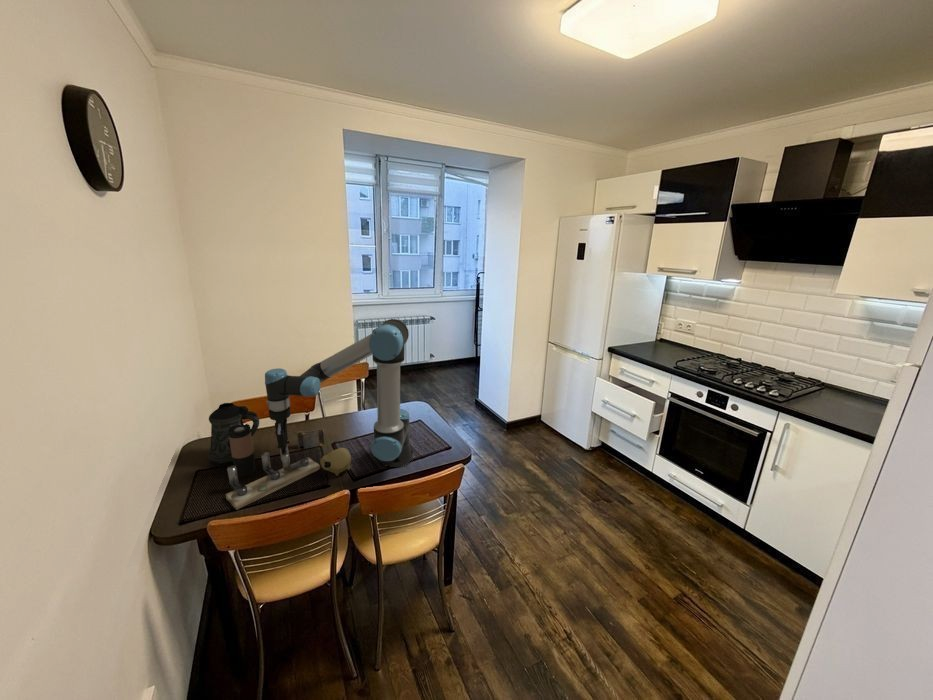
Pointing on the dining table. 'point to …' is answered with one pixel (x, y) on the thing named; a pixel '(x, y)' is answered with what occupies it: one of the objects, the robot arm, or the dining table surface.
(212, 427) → the beer stein
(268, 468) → the grey metal hook
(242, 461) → the travel mug
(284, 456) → the grey coat hook
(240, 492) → the grey metal coat hook
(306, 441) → the grey brown upright panel
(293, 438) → the dining table surface
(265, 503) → the dining table surface
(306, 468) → the coat hook board
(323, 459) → the toy pig
